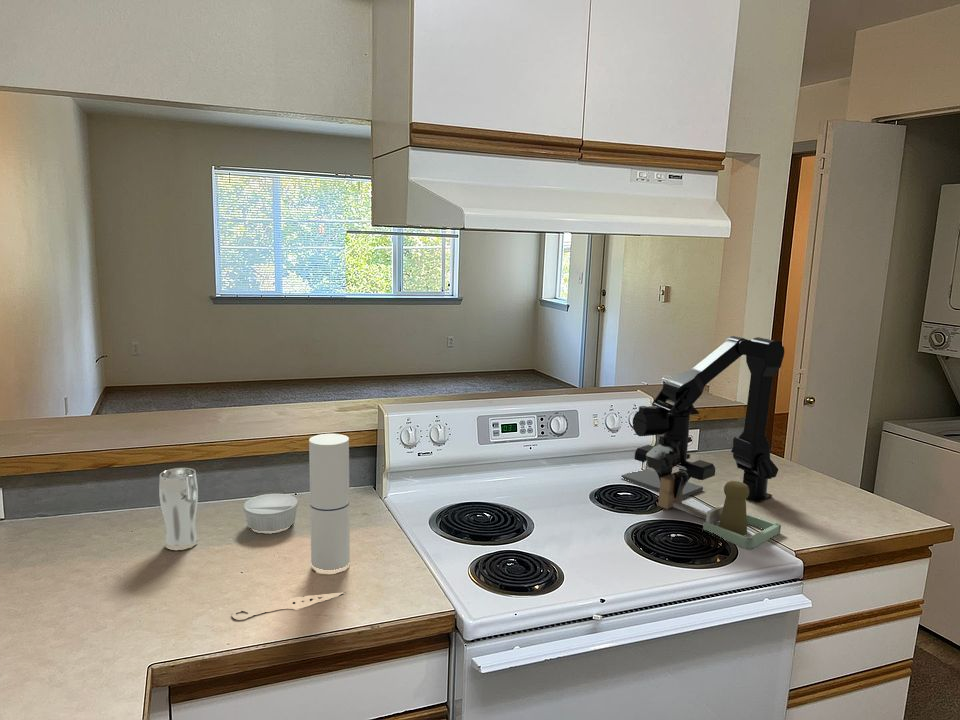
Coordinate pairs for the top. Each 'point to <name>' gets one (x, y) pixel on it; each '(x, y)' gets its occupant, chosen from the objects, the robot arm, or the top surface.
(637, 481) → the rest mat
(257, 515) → the ramekin
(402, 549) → the top surface
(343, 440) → the cylindrical container
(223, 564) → the top surface
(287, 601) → the top surface
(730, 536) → the corral
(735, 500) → the olive pawn
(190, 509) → the beer glass
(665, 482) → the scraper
